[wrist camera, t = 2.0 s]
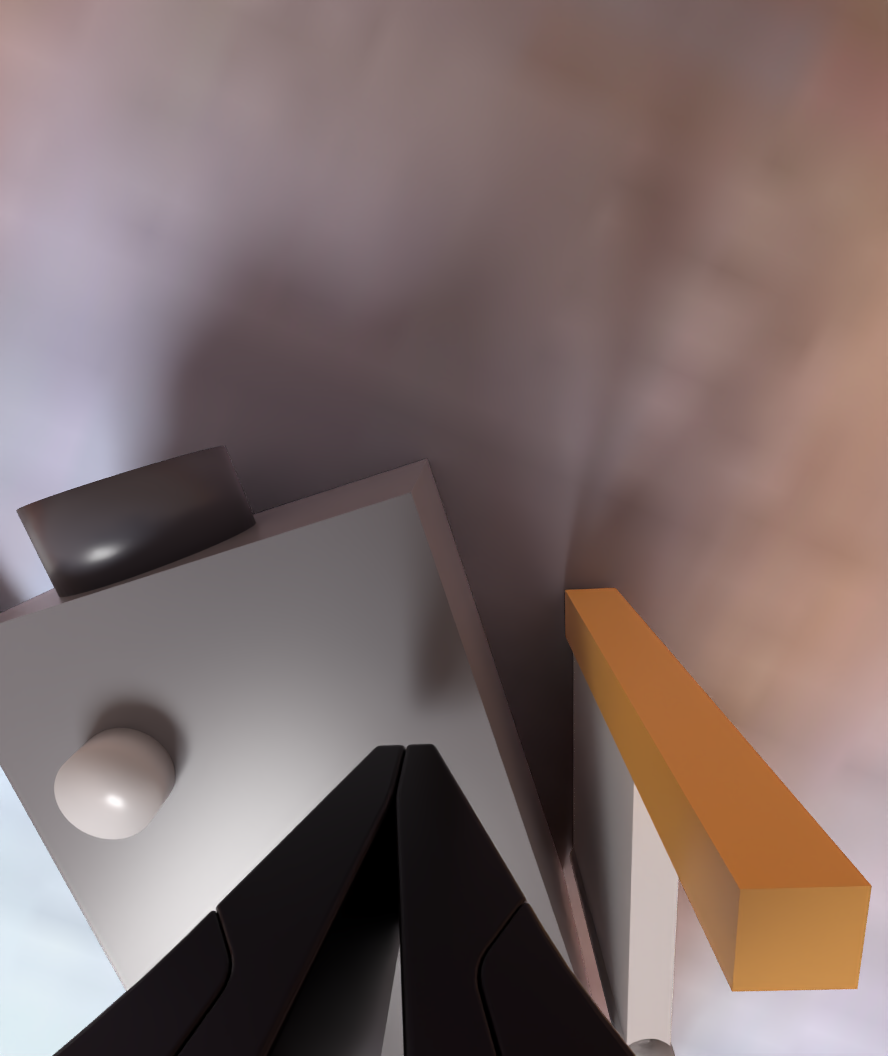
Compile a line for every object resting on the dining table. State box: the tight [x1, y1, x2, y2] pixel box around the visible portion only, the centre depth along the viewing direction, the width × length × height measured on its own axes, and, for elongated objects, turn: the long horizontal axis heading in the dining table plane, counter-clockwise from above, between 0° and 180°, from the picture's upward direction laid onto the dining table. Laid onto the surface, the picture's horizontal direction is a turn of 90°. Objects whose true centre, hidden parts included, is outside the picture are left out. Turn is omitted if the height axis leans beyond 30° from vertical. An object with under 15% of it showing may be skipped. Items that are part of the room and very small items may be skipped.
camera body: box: [0, 446, 592, 1056], centre depth 12 cm, size 14×8×6 cm, turn 18°
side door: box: [565, 588, 872, 1056], centre depth 10 cm, size 8×1×8 cm, turn 3°
